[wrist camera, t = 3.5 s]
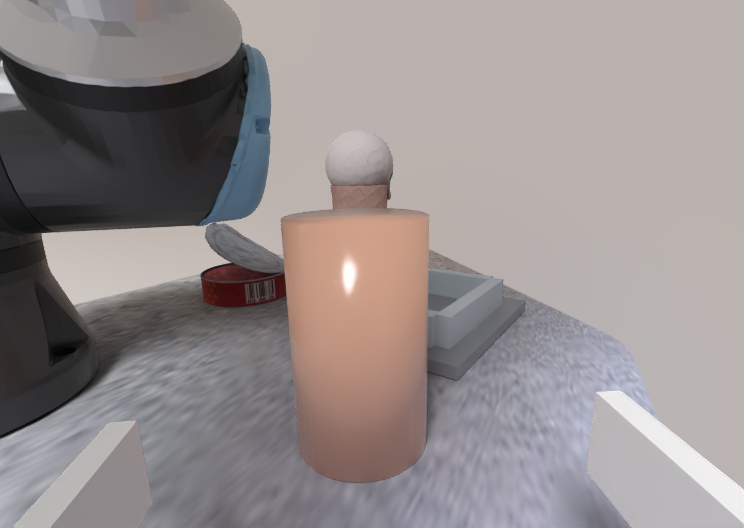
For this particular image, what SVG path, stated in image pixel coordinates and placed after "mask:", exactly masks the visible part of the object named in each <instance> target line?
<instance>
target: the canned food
mask: <svg viewBox="0 0 744 528" xmlns="http://www.w3.org/2000/svg"><path fill="white" fill-rule="evenodd" d="M205 238H206V240H207V242H208V244H209V245H210V247H211V248H212V249H213V250H214V251H215V252H216V253H217V254H218V255H220V256H221V257H223V258H224V259H226V260H228V261H230V262H232V263H228V264H223V265H219V266H215V267H212V268H209V269H207V270H205V271H203V272H202V273H201V275H200V276H201V281H202V289H203V297H204V301H205V302H206V303H208V304H210V305H214V306H221V307H243V306H252V305H258V304H263V303H267V302H271V301H274V300H277V299H279V298H281V297H283V296H285V295H286V282H285V269H284V260H283V259H281V258H279V257H278V256H277V255H276V254H274V253H272V252H270V251H268V250H267V249H265V248H264V247H262V246H260V245H258V244H256V243H255V242H253V241H252V240H250V239H248V238H247V237H245V236H243V235H241V234H240V233H239V232H237V231H236V230H234V229H233V228H232V227H230V226H228V225H226V224H216V223H212V224H210V225H209V226H207V228H206V233H205Z"/></svg>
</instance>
